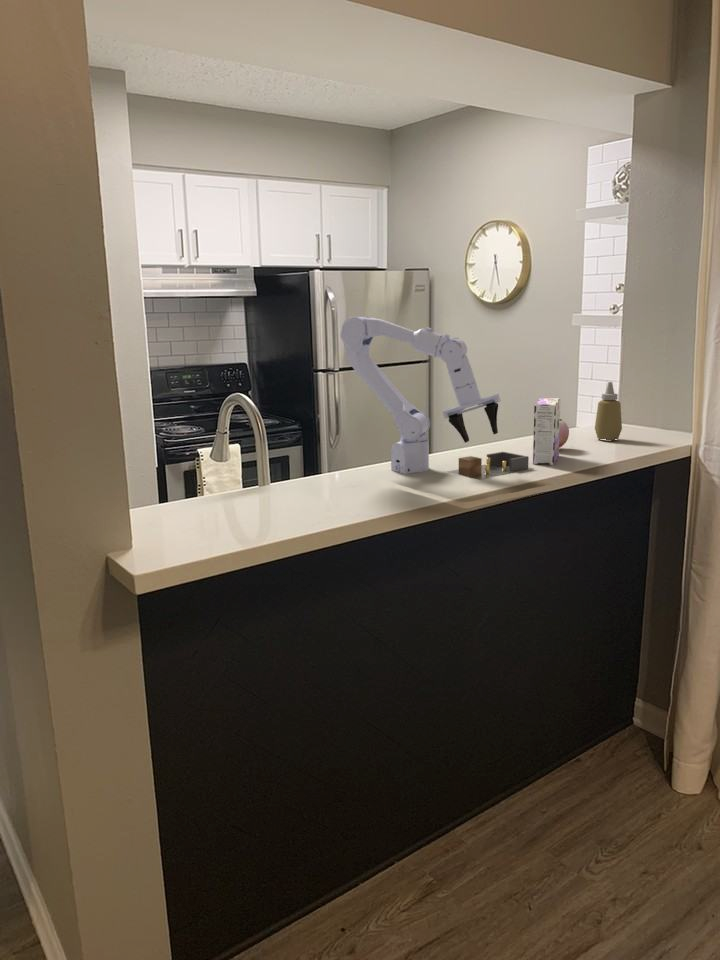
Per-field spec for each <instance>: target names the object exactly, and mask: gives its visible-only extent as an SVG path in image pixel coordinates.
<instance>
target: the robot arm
mask: <svg viewBox="0 0 720 960" xmlns="http://www.w3.org/2000/svg"><path fill="white" fill-rule="evenodd" d="M432 330H433V329H432V328H431V327H426V328H423V327H421V328H420V329H418V330H416V331H415V330H412V329H410V328H406V327H404V326H402V325H398V324H395V323H392V322H391V321H387V320H385V319H382V318H381V319H380V318H378V317H377V318H376V317H369V316H368V315H367V316H366V315H361V316H350V317H347V318H346V319H345V320H344V321H343V323H342V326H341V330H340V331H341V332H340V339H341V341H342V342H343V347H344V352H345V357H346V359H347V363H349V365H350V366H351V367H352V369H353V370H354V372H356V374H357V375H358V376H359V377H360V378H361V380H362V381H363V382H364V383H365V384H366V385H367V387H369V389H370V390H371V391H372V392H373V394H375V396H376V397H377V398H378V400H379V401H380V402H381V404H383V406H384V407H385V408H386V409H387V410H388V412H390V414H391V417H392V421H393V423H394V424H395V425H396V427H397V429H398V434H399V435H400V440H399V441H397V442H394V443H393V444H392V446H391V449H390V462H391V463H390V466H391V468H390V469H391V471H393V472H397V473H401V474H403V475H405V474H406V475H407V474H412V473H421V472H426V471H429V470H430V462H429V461H430V460H429V459H430V455H429V454H430V453H429V452H430V449H429V447H430V445H429V442H430V441H429V436H428V434H427V433H428V432H429V429H430V428H431V419H430V417H429V416H428V414H426V413H425V412H423V411H421V410H419V409H418V408H417V407H416V406H415V405H414V404H412V403H411V402H409V401H407V399H406V398H405V397H404V396H403V395H402V393H401V392H400V391H399V390H398V388H397V387H396V386H395V385H394V383H392V381H391V380H390V379H389V378H388V377H387V376H386V374H385V373H384V372H383V371H382V370H381V369H380V368H379V366H378V365H377V364H376V363H375V362H374V360H373V359H372V358H371V356H370V354H369V353H370V347H371V343H372V341H373V338H374V337H378V336H383V337H387V338H389V339H393V340H394V339H395V340H397V341H402V342H405V343H408V344H411V346H412V347H413V349H414V351H415V352H419V353H423V354H425V355H428V356H431V357H434V358H436V359H438V358H440V359H441V360H442V361H443V362H444V363H445V364H446V368H447V371H448V372H447V373H448V375H449V379H450V382H451V385H452V388H453V391H454V395H455V398H456V400H457V404H458V405H457V406H454V407H451V408H449V409H445V410H442V413H443V417H444V419H448V422H449V424H451V425H452V426H453V427H454V429H456V431H457V432H458V433H459V434H460V436H461V438H462V440H463V442H464V443H469V442H470V437H469V434H468V432H467V429H466V426H465V421H464V417H463V415H464V413H468V412H470V411H473V410H476V409H480V408H483V410H484V412H485V413H486V416H487V418H488V421H489V424H490V428H491V431H492V434H493V435H497V434H498V433H499V432H498V431H499V430H498V423H497V422H498V411H499V410H498V409H499V403H500V402H501V401H502V400H501V398H500V394H499V393H495V394H492V395H489V396H485V397H481V395H480V391H479V388H478V384H477V382H476V378H475V375H474V372H473V368H472V366H471V363H470V360H469V358H468V355H467V352H468V347H467V345H466V343H465V341H463V340H462V339H460V338H459V337H452V338H451V337H450V336H451V335H450V334H447V333H445V334H442V333H438V332H435V331H432Z"/></svg>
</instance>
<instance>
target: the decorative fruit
mask: <svg viewBox="0 0 720 960" xmlns="http://www.w3.org/2000/svg"><path fill="white" fill-rule="evenodd" d="M569 436H570V428H569V426H568V424H567V423H566V421H564V420H563V419H562V418H560V434H559V449H560V448H562V447H563V446H565V444H566V443H567V442H568V439H569Z"/></svg>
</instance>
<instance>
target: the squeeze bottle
mask: <svg viewBox="0 0 720 960" xmlns="http://www.w3.org/2000/svg"><path fill="white" fill-rule="evenodd" d="M621 404H622V403H621V402H620V401H619V400H618V393H615V390H614V385H613V382H612V381H608V383H607V384H606V389H605V393H601V400H600V401H598V404H597V411H596V415H595V423H594V424H595V425H594V430H595V435H596V439H598V438H599V439H606V440H615V439H618V440H619V437H620V435H621V432H622V430H623V424H622V408H621V407H622V406H621Z"/></svg>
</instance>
